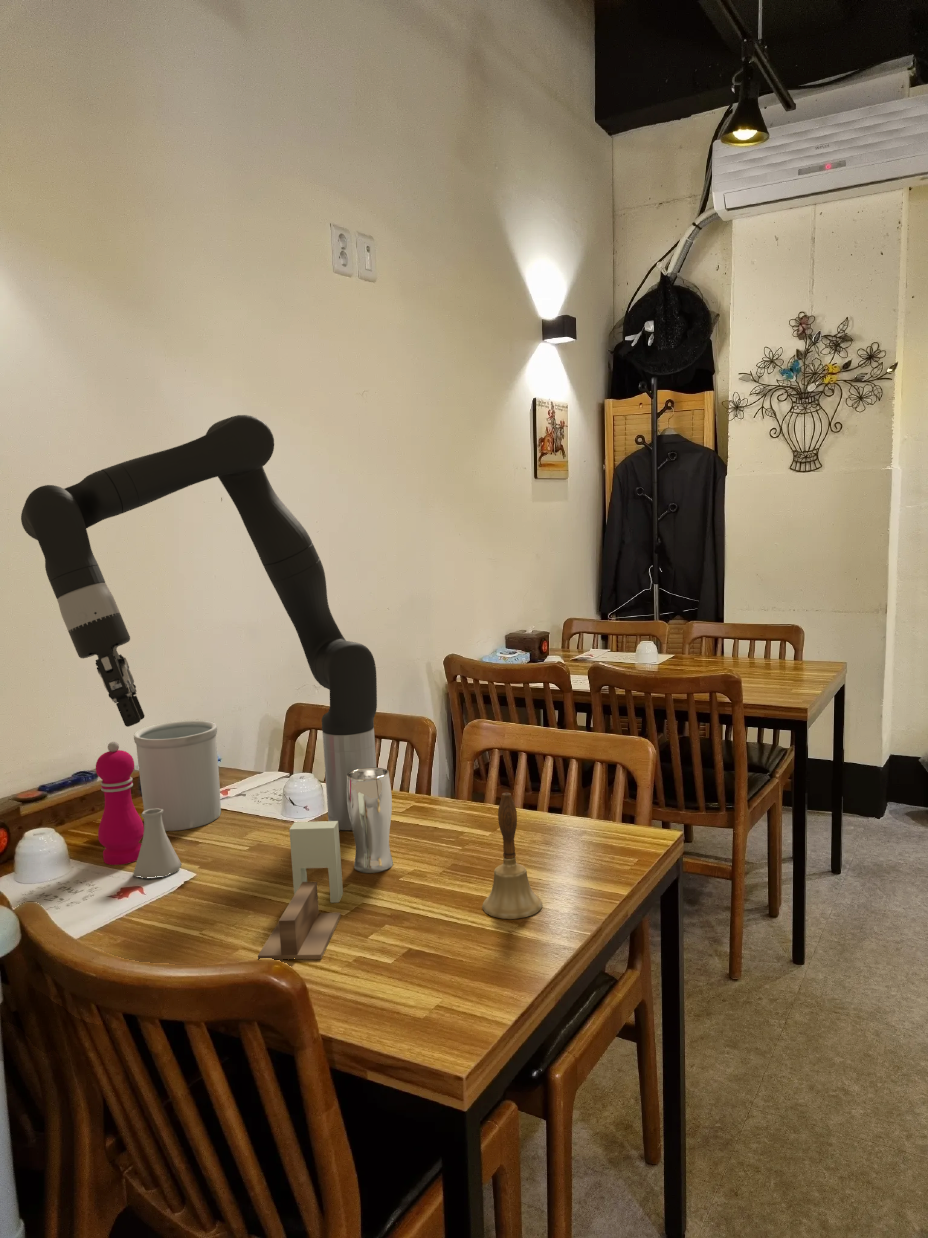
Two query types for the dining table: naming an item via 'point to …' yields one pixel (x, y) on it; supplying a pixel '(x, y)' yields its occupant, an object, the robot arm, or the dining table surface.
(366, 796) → the beer glass
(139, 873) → the flask
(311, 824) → the pale slotted block
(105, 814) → the pepper mill
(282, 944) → the walnut rail
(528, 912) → the hand bell
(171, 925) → the dining table surface
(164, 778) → the utensil holder
